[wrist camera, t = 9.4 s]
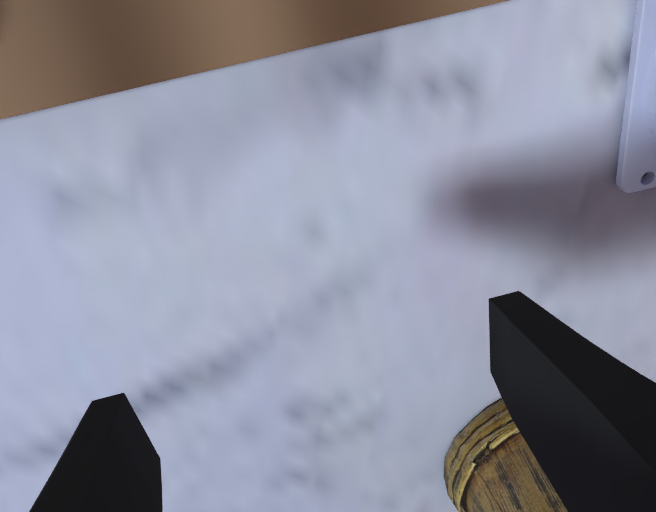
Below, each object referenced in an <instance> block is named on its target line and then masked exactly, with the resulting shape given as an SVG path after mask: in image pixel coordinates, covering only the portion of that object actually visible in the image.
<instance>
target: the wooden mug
mask: <svg viewBox="0 0 656 512" xmlns="http://www.w3.org/2000/svg"><path fill="white" fill-rule="evenodd" d="M444 479H445V483H446V488H447V493H448V496H449V497H450V499H451V500H452V502H453V504H454V505H455V507H456V508H457V510H458V512H568V511H567V509H566V508H565V506H564V504H563V503H562V501H561V499H560V498H559V496H558V494H557V493H556V491H555V489H554V488H553V486H552V484H551V483H550V481H549V480H548V478H547V476H546V475H545V473H544V471H543V470H542V468H541V466H540V465H539V463H538V461H537V460H536V458H535V456H534V455H533V453H532V451H531V450H530V448H529V446H528V445H527V443H526V441H525V440H524V438H523V436H522V435H521V433H520V431H519V430H518V428H517V426H516V425H515V423H514V421H513V420H512V418H511V416H510V414H509V412H508V409H507V407H506V405H505V403H504V401H503V399H500V400H499V401H497V402H495V403H494V404H492V405H490V406H489V407H487V408H486V409H484V410H483V411H482V412H481V413H480V414H479V415H478V416H477V417H476V418H474V419H473V420H472V421H471V422H470V423H469V424H468V425H467V426H466V427H465V428H464V429H463V430H462V431H461V432H460V433H459V434H458V435H457V436H456V437H455V438H454V440H453V442H452V444H451V446H450V448H449V450H448V452H447V454H446V456H445V461H444Z"/></svg>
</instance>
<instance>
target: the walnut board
mask: <svg viewBox="0 0 656 512" xmlns="http://www.w3.org/2000/svg"><path fill="white" fill-rule="evenodd" d="M504 1H508V0H0V119H4V118H8V117H12V116H17V115H21V114H25V113H29V112H34V111H38V110H42V109H46V108H51V107H55V106H59V105H64V104H68V103H72V102H76V101H81V100H85V99H89V98H94V97H98V96H102V95H106V94H111V93H115V92H119V91H123V90H128V89H132V88H136V87H141V86H145V85H149V84H153V83H158V82H162V81H166V80H171V79H175V78H179V77H183V76H188V75H192V74H196V73H200V72H205V71H209V70H213V69H218V68H222V67H226V66H230V65H235V64H239V63H243V62H247V61H252V60H256V59H260V58H265V57H269V56H273V55H277V54H282V53H286V52H290V51H295V50H299V49H303V48H307V47H312V46H316V45H320V44H324V43H329V42H333V41H337V40H342V39H346V38H350V37H354V36H359V35H363V34H367V33H372V32H376V31H380V30H384V29H389V28H393V27H397V26H401V25H406V24H410V23H414V22H419V21H423V20H427V19H431V18H436V17H440V16H444V15H449V14H453V13H457V12H461V11H466V10H470V9H474V8H478V7H483V6H487V5H491V4H496V3H500V2H504Z"/></svg>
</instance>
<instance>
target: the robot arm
mask: <svg viewBox="0 0 656 512" xmlns="http://www.w3.org/2000/svg"><path fill="white" fill-rule="evenodd" d="M647 172H648V173H647ZM645 173H647V175H646V176H645V177H644V178H643V179H641V178H642V176H643V175H644V174H645ZM616 185H617V187H618V188H619V189H620V190H622V191H623V192H625V193H634V192H638V191H642V190H646V189H650V188H654V187H656V0H637V5H636V13H635V22H634V30H633V39H632V47H631V56H630V64H629V73H628V81H627V90H626V98H625V107H624V115H623V123H622V132H621V140H620V149H619V157H618V166H617V174H616ZM489 329H490V370H491V374H492V376H493V378H494V381H495V383H496V385H497V387H498V390H499V392H500V394H501V397H502V399H503V401H504V403H505V405H506V407H507V409H508V412H509V414H510V416H511V418H512V420H513V421H514V423H515V425H516V426H517V428H518V430H519V431H520V433H521V435H522V436H523V438H524V440H525V441H526V443H527V445H528V446H529V448H530V450H531V451H532V453H533V455H534V456H535V458H536V460H537V461H538V463H539V465H540V466H541V468H542V470H543V471H544V473H545V475H546V476H547V478H548V480H549V481H550V483H551V484H552V486H553V488H554V489H555V491H556V493H557V494H558V496H559V498H560V499H561V501H562V503H563V504H564V506H565V508H566V509H567V511H568V512H656V383H655V382H653V381H651V380H650V379H648V378H646V377H645V376H643V375H641V374H640V373H638V372H636V371H635V370H633V369H632V368H630V367H628V366H627V365H625V364H624V363H622V362H620V361H619V360H617V359H616V358H614V357H613V356H611V355H610V354H608V353H607V352H605V351H604V350H602V349H601V348H599V347H598V346H596V345H595V344H593V343H592V342H590V341H589V340H587V339H586V338H584V337H583V336H581V335H580V334H578V333H577V332H576V331H574V330H573V329H571V328H570V327H569V326H567V325H566V324H564V323H563V322H561V321H560V320H559V319H557V318H556V317H554V316H553V315H552V314H550V313H549V312H548V311H546V310H545V309H543V308H542V307H541V306H539V305H538V304H537V303H535V302H534V301H532V300H531V299H530V298H528V297H527V296H525V295H524V294H523V293H521V292H519V291H517V292H513V293H509V294H505V295H501V296H498V297H494V298H490V299H489ZM29 512H162V482H161V464H160V457H159V455H158V454H157V452H156V450H155V448H154V446H153V445H152V443H151V441H150V439H149V437H148V435H147V434H146V432H145V430H144V428H143V426H142V425H141V423H140V421H139V419H138V417H137V415H136V414H135V412H134V410H133V408H132V406H131V405H130V403H129V401H128V399H127V397H126V395H125V394H124V393H121V394H117V395H113V396H110V397H106V398H102V399H98V400H94V401H92V402H91V404H90V405H89V407H88V409H87V411H86V412H85V414H84V416H83V418H82V420H81V421H80V423H79V425H78V427H77V429H76V430H75V432H74V434H73V436H72V438H71V440H70V441H69V443H68V445H67V447H66V449H65V451H64V452H63V454H62V456H61V458H60V459H59V461H58V463H57V465H56V467H55V468H54V470H53V472H52V474H51V475H50V477H49V479H48V481H47V482H46V484H45V486H44V487H43V489H42V491H41V493H40V494H39V496H38V498H37V499H36V501H35V503H34V505H33V506H32V508H31V510H30V511H29Z"/></svg>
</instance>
